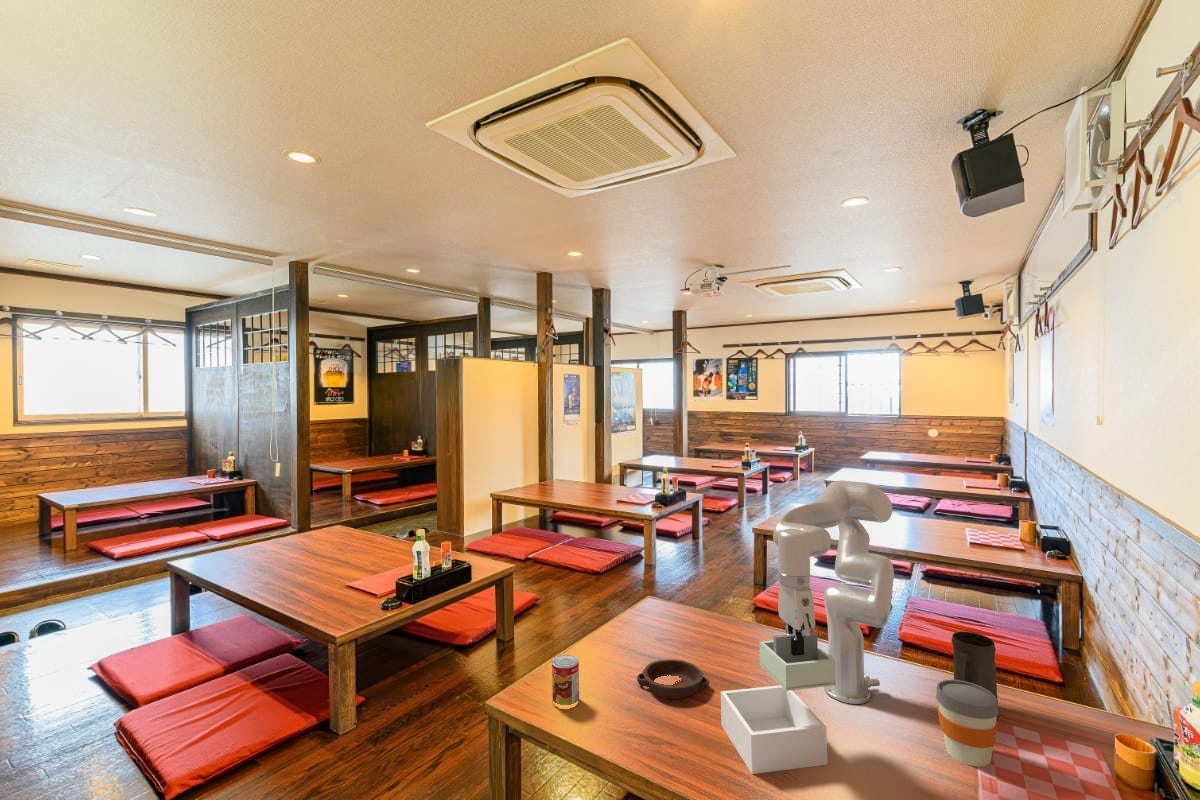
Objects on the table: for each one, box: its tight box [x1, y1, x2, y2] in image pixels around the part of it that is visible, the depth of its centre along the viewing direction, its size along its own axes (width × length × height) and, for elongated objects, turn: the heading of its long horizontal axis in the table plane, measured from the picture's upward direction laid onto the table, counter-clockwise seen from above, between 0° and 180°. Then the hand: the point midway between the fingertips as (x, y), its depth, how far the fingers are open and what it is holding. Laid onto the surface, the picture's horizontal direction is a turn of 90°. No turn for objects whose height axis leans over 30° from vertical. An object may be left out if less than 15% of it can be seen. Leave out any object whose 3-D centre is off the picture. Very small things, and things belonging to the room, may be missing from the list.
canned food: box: [551, 654, 580, 705], centre depth 152 cm, size 8×8×12 cm
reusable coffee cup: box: [935, 679, 1000, 768], centre depth 127 cm, size 13×13×15 cm
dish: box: [636, 658, 710, 700], centre depth 159 cm, size 18×22×5 cm
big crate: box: [720, 684, 828, 775], centre depth 132 cm, size 19×19×9 cm
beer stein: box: [951, 631, 1000, 718], centre depth 144 cm, size 15×11×20 cm
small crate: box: [759, 631, 836, 691], centre depth 131 cm, size 13×13×10 cm
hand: (795, 652), depth 131 cm, fingers closed on small crate, 1 cm apart
